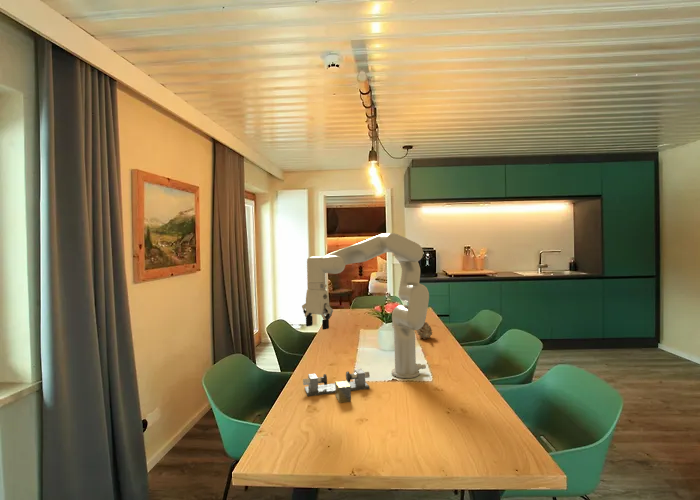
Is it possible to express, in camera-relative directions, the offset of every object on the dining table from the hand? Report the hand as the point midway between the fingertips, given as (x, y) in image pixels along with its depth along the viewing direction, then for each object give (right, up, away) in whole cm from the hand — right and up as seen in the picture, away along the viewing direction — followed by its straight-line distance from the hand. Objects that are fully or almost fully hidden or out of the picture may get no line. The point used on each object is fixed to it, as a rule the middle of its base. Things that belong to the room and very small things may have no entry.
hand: (317, 327), depth 166 cm
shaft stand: (+8, -26, +2) cm, 27 cm away
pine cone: (+60, -23, +78) cm, 101 cm away
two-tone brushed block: (+11, -26, -9) cm, 30 cm away
